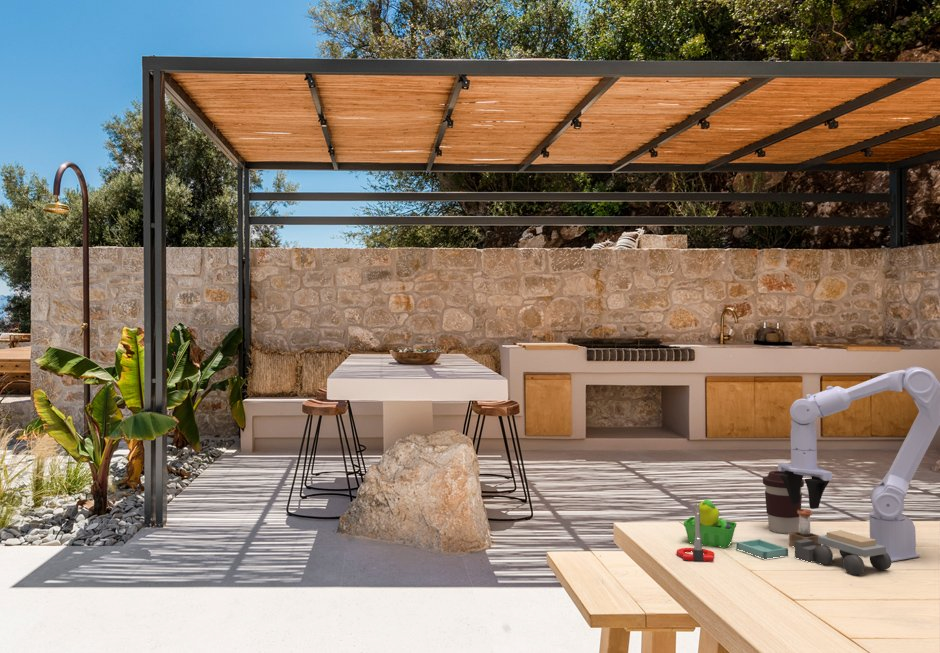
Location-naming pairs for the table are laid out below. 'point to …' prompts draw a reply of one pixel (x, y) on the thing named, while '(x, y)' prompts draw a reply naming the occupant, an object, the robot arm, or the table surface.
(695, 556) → the tow hook
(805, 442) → the robot arm
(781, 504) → the coffee cup
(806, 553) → the block
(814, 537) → the pin socket
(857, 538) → the trolley
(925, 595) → the table surface
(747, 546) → the tray
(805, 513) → the pin
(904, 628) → the table surface
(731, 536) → the fruit basket
